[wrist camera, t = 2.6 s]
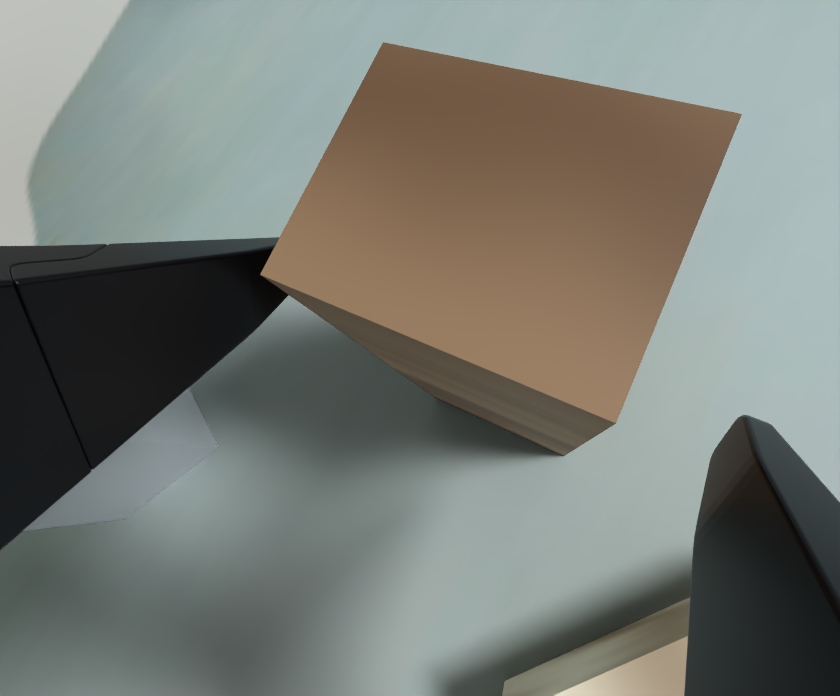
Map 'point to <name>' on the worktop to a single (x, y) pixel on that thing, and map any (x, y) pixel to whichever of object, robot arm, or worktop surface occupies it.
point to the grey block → (136, 468)
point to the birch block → (617, 662)
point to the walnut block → (502, 234)
